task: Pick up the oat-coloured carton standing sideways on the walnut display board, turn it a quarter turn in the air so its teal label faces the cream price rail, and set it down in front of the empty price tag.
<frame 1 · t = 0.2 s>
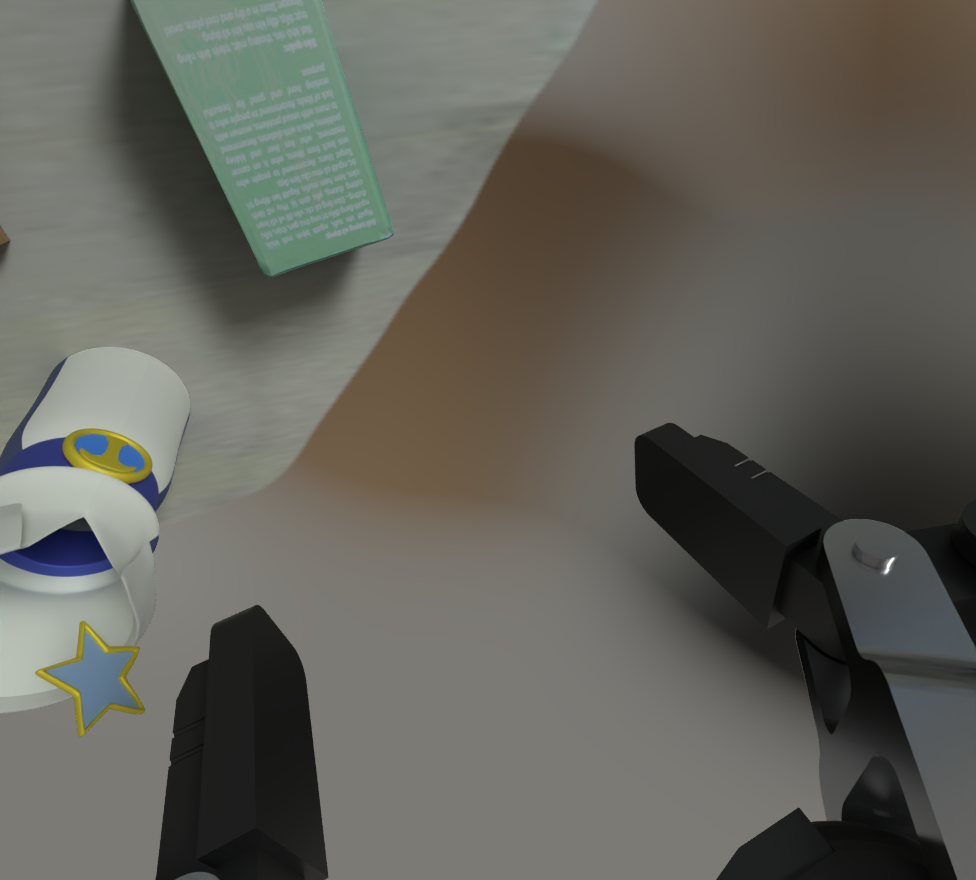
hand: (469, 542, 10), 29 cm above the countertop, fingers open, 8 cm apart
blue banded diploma: (119, 398, 33), on the countertop
box: (269, 119, 29), on the countertop
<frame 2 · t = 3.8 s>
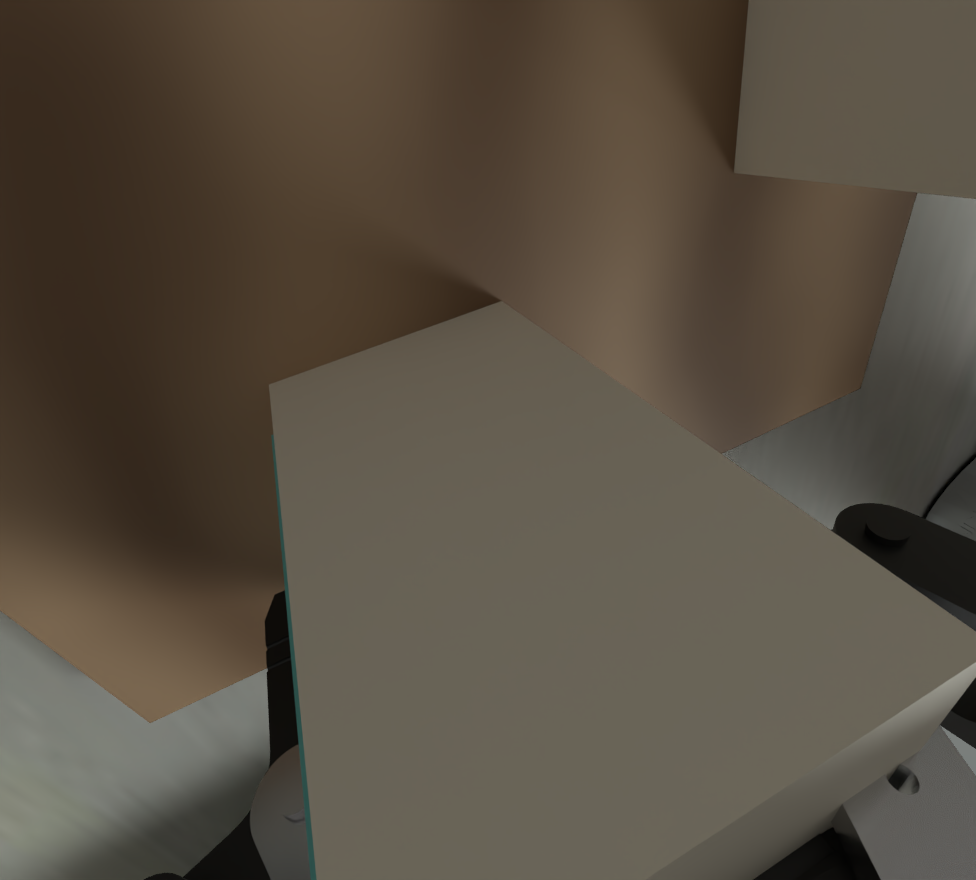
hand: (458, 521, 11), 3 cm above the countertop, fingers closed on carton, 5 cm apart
display board: (491, 255, 12), on the countertop
carton: (435, 469, 12), point 2 cm above the countertop, touching display board, gripper
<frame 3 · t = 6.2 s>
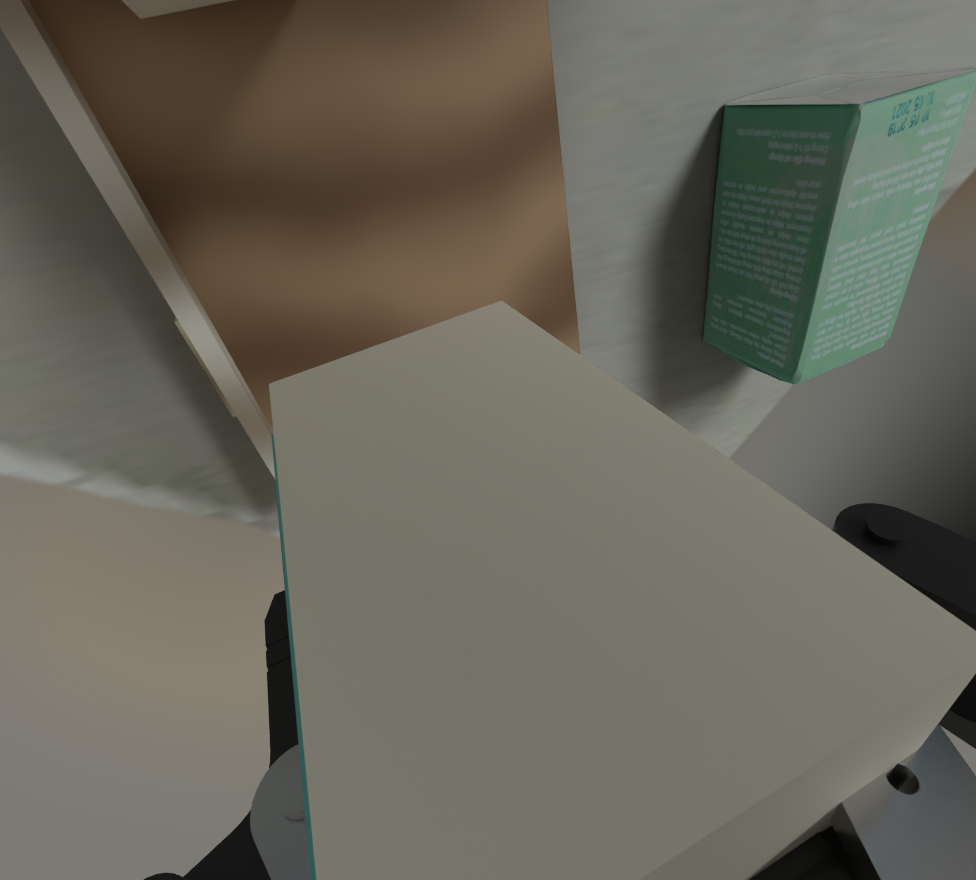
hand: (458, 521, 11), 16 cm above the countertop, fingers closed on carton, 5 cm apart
display board: (368, 168, 20), on the countertop
carton: (435, 468, 12), point 14 cm above the countertop, touching gripper
box: (753, 224, 30), on the countertop
when the fingers open (5 cm above the countertop, at t = 8.8 s): carton drops 1 cm, resting on display board.
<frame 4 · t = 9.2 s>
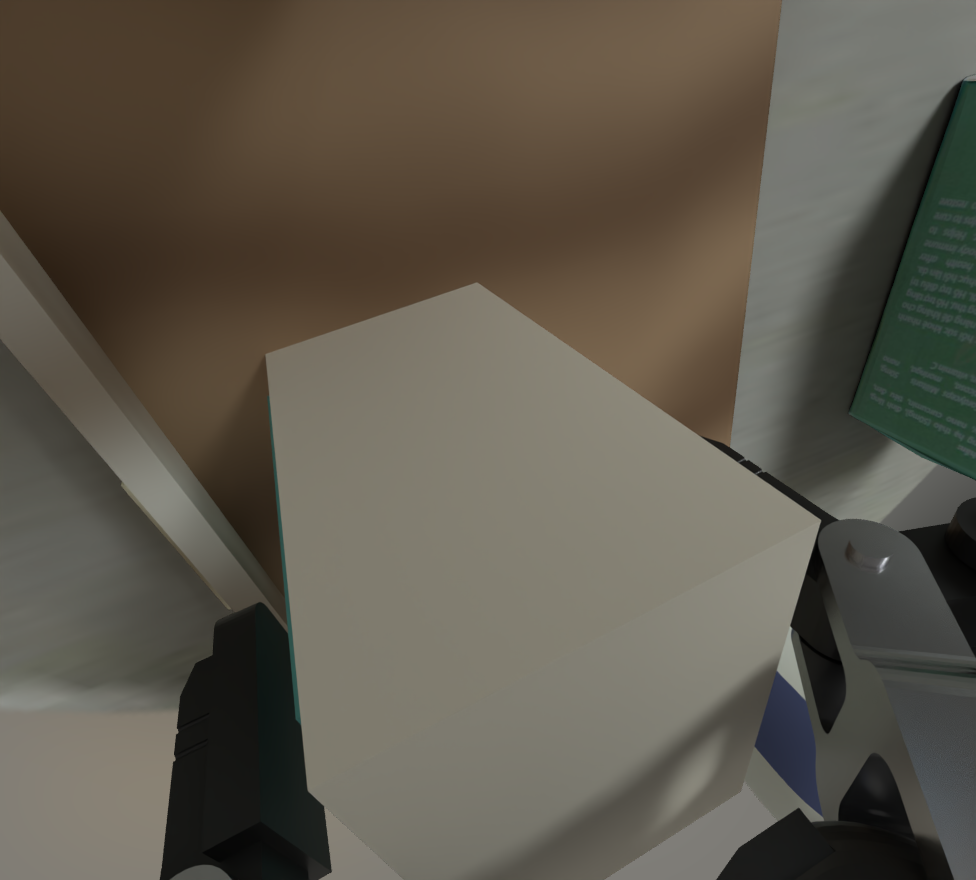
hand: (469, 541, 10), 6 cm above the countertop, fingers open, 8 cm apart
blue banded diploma: (686, 594, 27), on the countertop
display board: (456, 202, 12), on the countertop
carton: (418, 438, 13), point 1 cm above the countertop, touching display board
box: (942, 260, 21), on the countertop
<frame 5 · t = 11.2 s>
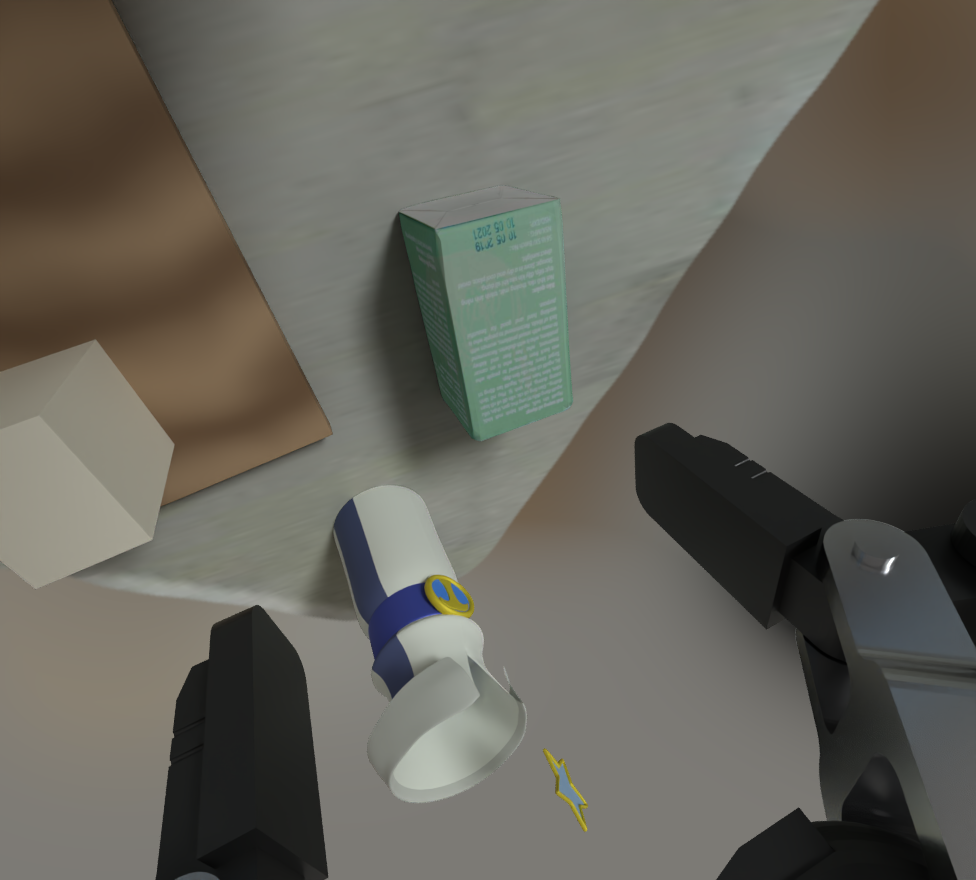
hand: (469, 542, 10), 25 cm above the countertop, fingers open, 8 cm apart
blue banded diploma: (380, 521, 41), on the countertop
display board: (90, 302, 26), on the countertop
carton: (91, 413, 28), point 1 cm above the countertop, touching display board
box: (469, 301, 35), on the countertop
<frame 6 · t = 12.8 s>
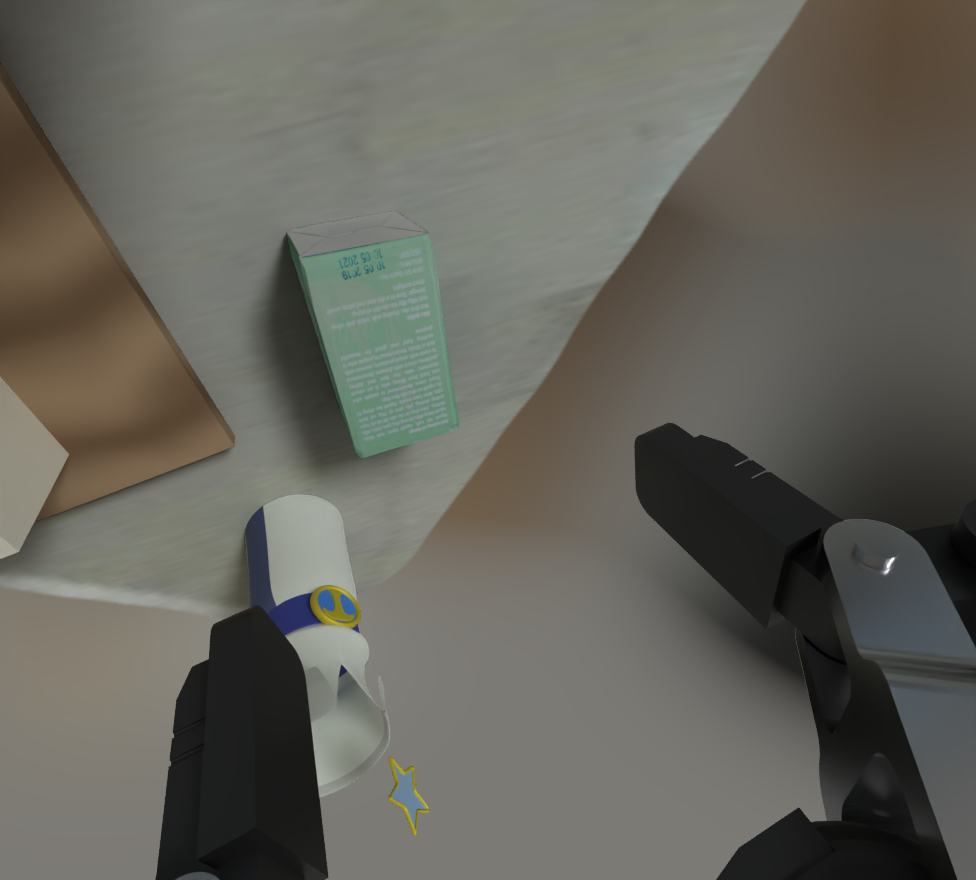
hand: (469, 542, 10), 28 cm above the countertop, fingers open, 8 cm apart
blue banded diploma: (293, 528, 42), on the countertop
box: (367, 320, 36), on the countertop
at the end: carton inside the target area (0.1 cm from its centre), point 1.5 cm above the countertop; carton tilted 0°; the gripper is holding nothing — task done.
